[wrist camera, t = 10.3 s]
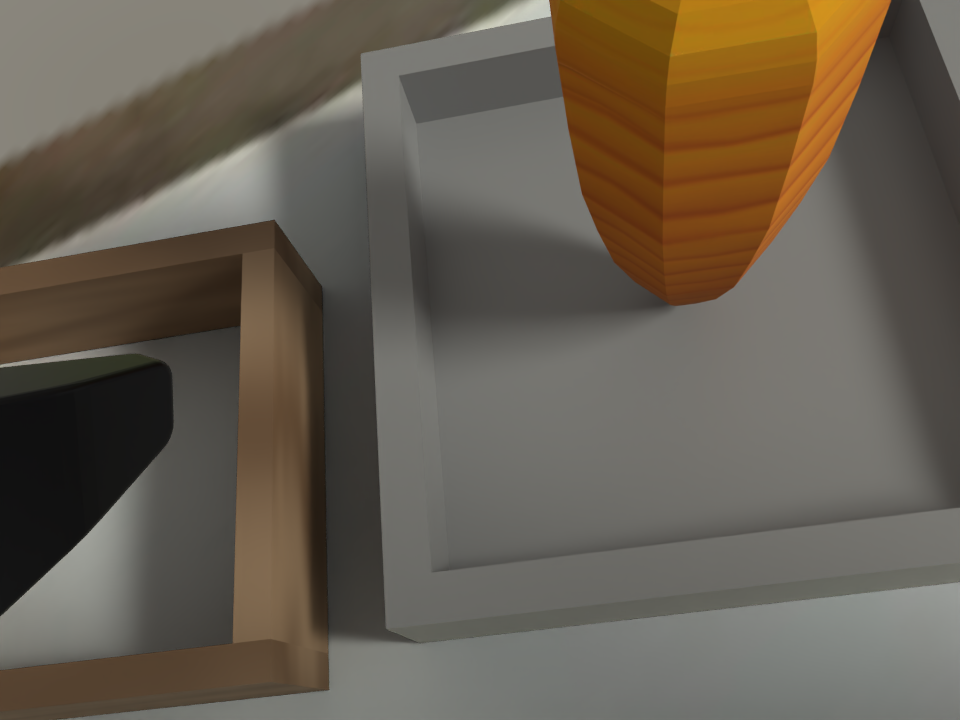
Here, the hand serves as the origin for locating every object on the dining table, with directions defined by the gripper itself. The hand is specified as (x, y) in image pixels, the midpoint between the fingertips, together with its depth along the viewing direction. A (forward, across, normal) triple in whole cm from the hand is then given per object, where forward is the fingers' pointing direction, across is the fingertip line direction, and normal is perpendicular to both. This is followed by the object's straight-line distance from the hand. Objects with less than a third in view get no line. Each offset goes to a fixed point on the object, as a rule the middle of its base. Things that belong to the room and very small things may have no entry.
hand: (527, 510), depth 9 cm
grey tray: (+14, 0, +2) cm, 14 cm away
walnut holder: (+8, +12, +9) cm, 17 cm away
